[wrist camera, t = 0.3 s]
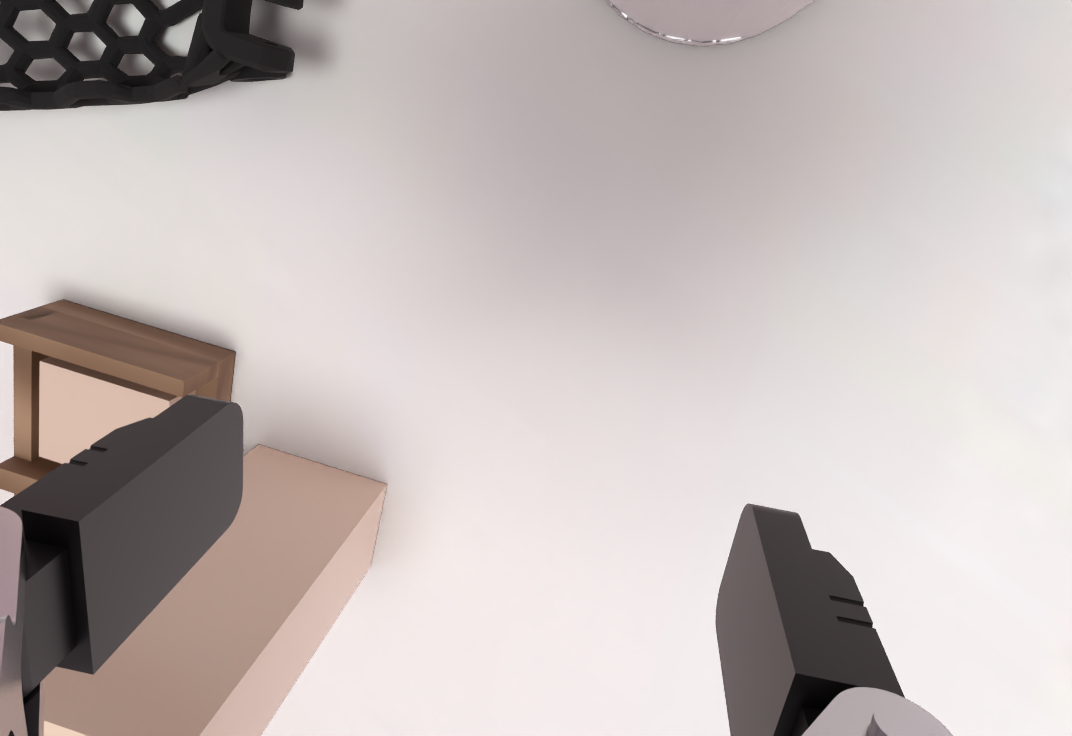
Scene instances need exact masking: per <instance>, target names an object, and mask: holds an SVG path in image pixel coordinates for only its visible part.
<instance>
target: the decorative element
mask: <svg viewBox="0 0 1072 736" xmlns="http://www.w3.org/2000/svg"><path fill="white" fill-rule="evenodd" d="M265 1H268V2H272V3H275V4H278V5H282V6H285V7H289V8H293V9H297V10H299V9H301V8H303V0H265ZM0 2H1V3H0V38H1V39H2V40H3V41H4V42H6V43H7V44H8V45H9V46H10V47H11V48H13V49H14V52H13V54H12V55H11V57H10V59H9V60H8V62H7V63H6V64H4V65H0V83H11V84H13V85H14V86H15V87H17V88H18V89H15V88H11V87H0V111H11V110H31V109H65V108H77V107H82V106H100V105H128V104H142V103H151V102H161V101H171V100H179V99H186V98H187V97H188V95H190V94H193V93H196V92H199V91H202V90H205V89H208V88H210V87H213V86H216V85H219V84H221V83H223V82H225V81H227V80H230V81H233V82H253V81H265V80H277V79H285V78H286V77H285V73H286V72H293V65H294V58H295V53H294V52H293V50H292V49H291V48H289V47H286V46H283V45H280V44H277V43H274V42H271V41H268V40H265V39H262V38H259V37H256V36H253V35H250V34H249V25H250V13H251V6H252V0H180V1H179V2H177V3H175V4H174V5H172V6H170V7H169V8H167V9H162V10H159V9H158V7H157V6H156V5H155V4H154V3H153V2H152V1H151V0H94V1H93V3H92V5H91V7H90V9H89V11H88V12H87V13H83V14H69V13H68V12H67V11H66V10H65V9H64V8H63V7H62V6H61V5H60V4H59V3H58V2H57V1H56V0H0ZM118 4H133V5H134V6H135V7H136V8H137V9H138V10H139V12H140V13H141V14H142V15H143V16H144V17H145V18H146V19H145V21H144V23H143V26H142V28H141V30H140V33H139V35H138V36H124V37H119V36H118V35H117V34H116V33H115V32H114V30H113V29H112V28H111V27H110V26H109V25H108V24H107V23H106V20H107V18H108V16H109V14H110V12H111V10H112V8H113V6H114V5H118ZM201 8H203V9H202V13H200V14H199V16H198V19H197V22H196V26H195V30H194V33H193V37H192V41H191V45H190V48H189V52H188V56H187V57H183V56H174V57H172V56H168V55H167V54H166V53H165V52H164V51H163V50H162V49H161V48H159V47H158V46H157V45H156V44H155V43H156V41H157V39H158V37H159V34H160V32H161V30H162V28H163V27H167V26H173V25H175V24H176V23H178V22H180V21H181V20H183V19H185V18H186V17H188V16H190V15H191V14H193V13H195V12H196V11H198V10H200V9H201ZM36 9H41V10H42V11H43V12H44V13H45V14H46V15H47V16H48V17H49V18H51V19H52V20H53V21H54V22H55V23H56V26H55V28H54V30H53V32H52V34H51V37H50V39H49V41H27V40H26V39H25V38H24V37H23V36H22V35H21V34H20V33H19V32H17V31H16V30H15V29H14V28H13V25H14V23H15V21H16V18H17V16H18V14H19V12H20V11H23V10H36ZM74 32H94V33H95V34H96V35H97V37H98V38H99V39H100V40H101V41H102V42H103V43H104V44H105V45H106V48H105V50H104V52H103V54H102V56H101V58H100V60H96V61H80V60H79V59H78V58H76V57H75V56H74V55H73V54H72V53H71V52H70V51H69V50H68V49H67V47H68V45H69V43H70V41H71V39H72V37H73V35H74ZM124 54H144V55H145V56H146V57H147V58H148V59H149V60H150V61H151V62H152V63H153V64H154V65H155V67H154V68H153V70H152V71H151V72H150V73H149V74H147V75H142V76H128V75H127V74H126V73H124V72H123V71H121V70H120V69H118V68H117V67H118V65H119V63H120V61H121V59H122V58H123V56H124ZM46 58H54V59H55V60H56V61H57V62H58V63H59V64H60V65H61V66H63V67H64V68H65V69H66V71H65V72H64V73H63V74H62V76H61V77H60V78H59V79H58V80H51V81H35V80H34V79H32V78H31V77H29V76H28V75H27V74H25V72H26V70H27V69H28V67H29V66H30V64H31V63H32V61H33V60H34V59H46ZM176 73H183V74H182V76H179V75H176V76H173V77H170V76H171V75H173V74H176ZM90 78H105V79H106V80H107V81H103V80H92V81H83V80H84V79H90Z"/></svg>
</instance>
